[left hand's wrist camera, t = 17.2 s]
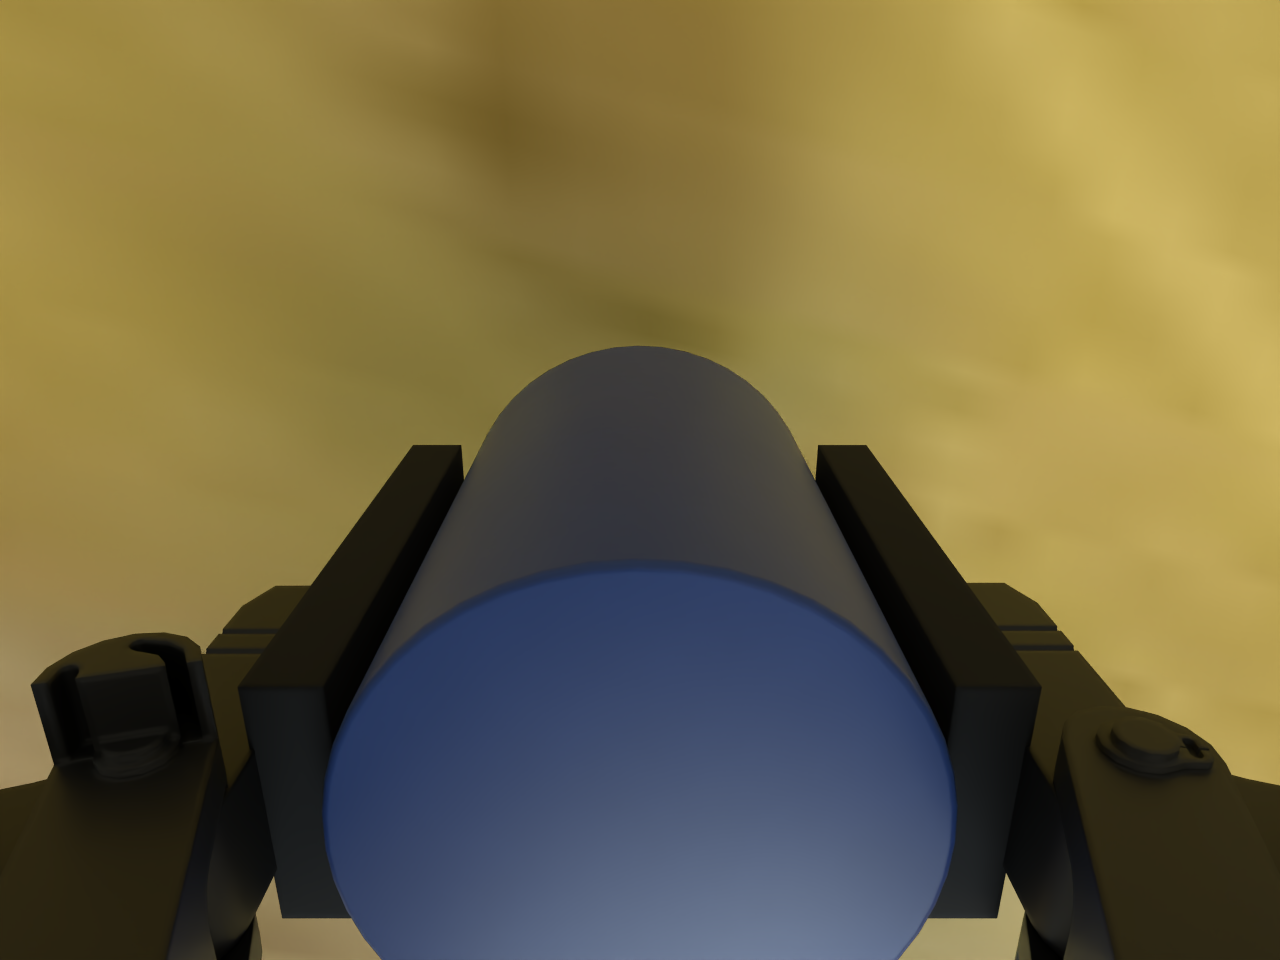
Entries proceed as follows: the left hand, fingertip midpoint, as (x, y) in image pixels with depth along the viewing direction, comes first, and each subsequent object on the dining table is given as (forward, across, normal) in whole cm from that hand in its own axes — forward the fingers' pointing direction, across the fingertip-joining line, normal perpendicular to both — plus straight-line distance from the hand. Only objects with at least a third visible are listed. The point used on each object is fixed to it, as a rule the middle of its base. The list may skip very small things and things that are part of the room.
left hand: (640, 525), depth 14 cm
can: (+1, 0, 0) cm, 1 cm away
